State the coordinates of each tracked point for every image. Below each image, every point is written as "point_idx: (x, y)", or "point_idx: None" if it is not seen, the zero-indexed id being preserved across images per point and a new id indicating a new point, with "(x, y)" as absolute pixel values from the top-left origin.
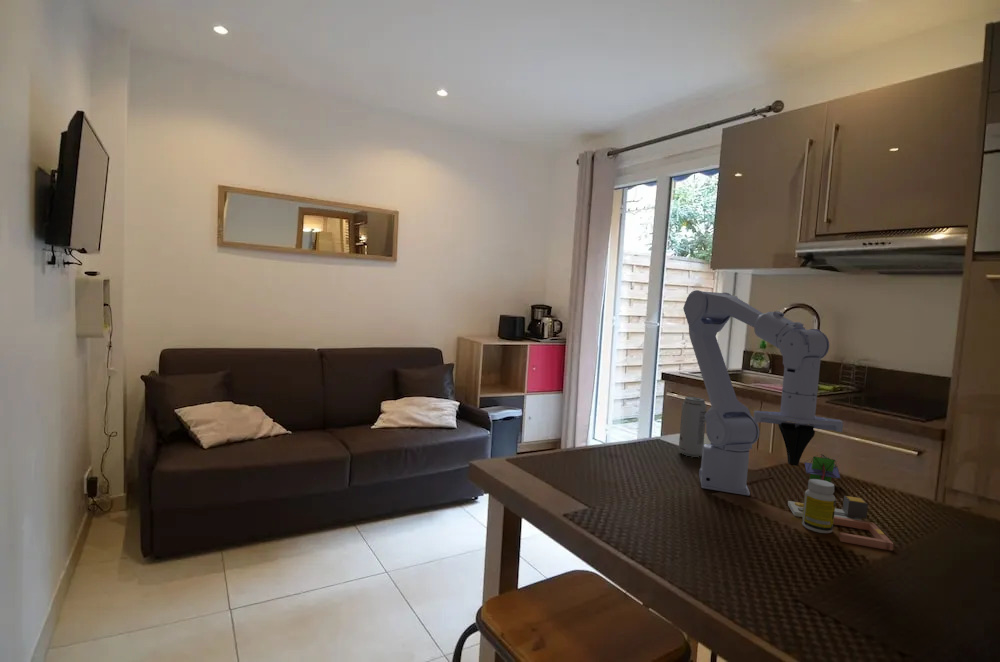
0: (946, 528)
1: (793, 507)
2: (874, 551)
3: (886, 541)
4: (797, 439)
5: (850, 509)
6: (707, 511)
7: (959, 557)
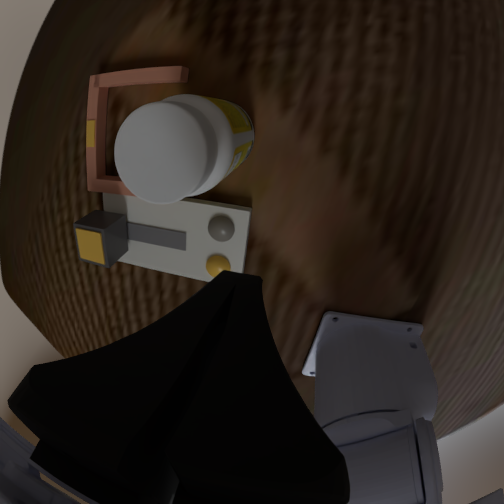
0: (22, 240)
1: (242, 243)
2: (135, 51)
3: (97, 81)
4: (185, 405)
5: (112, 220)
6: (476, 181)
7: (27, 118)
